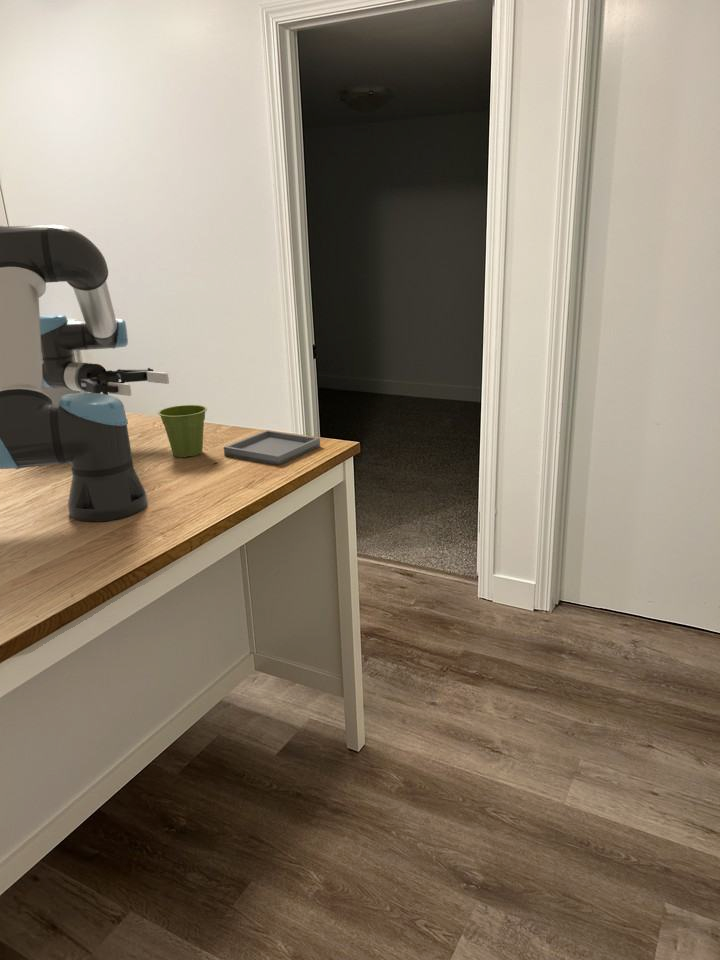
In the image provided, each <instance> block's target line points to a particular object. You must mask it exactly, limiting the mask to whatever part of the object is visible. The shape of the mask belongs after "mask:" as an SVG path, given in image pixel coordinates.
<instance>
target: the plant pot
mask: <svg viewBox="0 0 720 960" xmlns="http://www.w3.org/2000/svg"><path fill="white" fill-rule="evenodd" d="M207 410H208V408H207V406H204V405H201V404H199V405H198V404H185V405H184V404H183V405H175V406H170V407H164V408H162V409H160V410H159V411H157V414H158V416H160V418H161V421H162V424H163V425H164V429H165V431H166V435H167V439H168V442H169V445H170V449H171V453H172V454H173V456H174V457H176V458H177V457H178V458H186V457H197V456H198V455H200V454H202V453H203V449H204V448H203V447H204V446H203V445H204V426H205V425H204V424H205V423H204V422H205V420H206V419H205V418H206V412H207Z"/></svg>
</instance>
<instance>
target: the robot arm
mask: <svg viewBox="0 0 720 960" xmlns="http://www.w3.org/2000/svg"><path fill="white" fill-rule="evenodd" d="M107 264H108V263H107V261H106V259H105V256H104V254H103V253H102V252H101V250H100V248H98V247H97V246H96V244H94V243H93V241H91V240H90V239H89V238H87V237H86V236H85V235H83V233H80V232H78V231H76V230H74V229H73V228H70V227H68V226H64V225H59V224H58V225H57V224H46V225H45V224H44V225H41V224H40V225H14V226H13V225H12V226H4V225H0V470H11V469H16V470H20V469H26V468H33V467H34V468H35V467H44V466H53V465H61V464H63V465H64V464H69V465H70V467H71V468H70V469H71V474H72V478H71V483H70V490H69V496H68V501H67V502H68V503H67V506H68V512H69V513H68V514H69V515H70V517H71V518H73V519H74V520H78V521H82V522H107V521H114V520H118V519H123V518H127V517H130V516H132V515H134V514H137V513H139V512H140V511H142V510H143V509H144V508H146V506H147V505H148V498H147V493H146V490H145V487H144V485H143V484H142V482H141V480H140V478H139V476H138V474H137V472H136V470H135V468H134V463H133V456H132V449H131V443H130V435H129V430H128V424H129V421H128V418H127V416H126V409H125V405H124V403H123V402H122V400H121V399H119V398H118V397H116V396H114V395H120V396H129V397H130V396H132V389H131V384H130V383H135V382H147V383H154V384H167V385H168V384H170V380H169V379H170V378H169V373H168V372H162V371H154V369H153V368H151V367H147V368H145V369H144V368H143V369H120V368H118V369H116V370H107V369H106V368H105V367H104V366H103V365H101V364H98V363H92V362H91V363H89V362H77V361H74V355H73V351H74V352H76V351H87V350H101V349H102V350H103V349H104V350H106V349H112V350H113V349H116V348H117V349H118V348H124V347H126V346H128V344H129V343H128V342H129V341H128V340H129V338H128V330H127V324H126V321H125V320H124V319H122V318H116V314H115V310H114V307H113V303H112V299H111V295H110V292H109V287H108V284H107V283H108V282H107V280H108V277H109V270H108V269H109V268H108V265H107ZM59 282H63V283H64V282H66V283H67V284H68V285H69V286H70V287H72V289H73V291H74V296H75V298H76V300H77V303H78V307H79V308H80V312H81V314H82V318H83V320H80V321H79V320H77V321H72V320H71V321H70V320H68V319H67V318H68V317H67V316H66V315H65V314H62V313H61V314H60V313H59V314H55V313H54V314H44V315H41V314H40V298H41V297H42V296H43V295H44V294H45V293H46V291H47V284H46V283H59ZM44 387H46V388H52V389H55V390H68V391H77V392H76V393H68V394H63V395H62V396H60V398H59V401H58V403H53V400H52V398H51V396H50V395H48V394H47V393H46V392H44ZM110 394H111V395H110Z"/></svg>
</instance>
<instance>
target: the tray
mask: <svg viewBox="0 0 720 960" xmlns="http://www.w3.org/2000/svg"><path fill="white" fill-rule="evenodd" d="M320 447H321V438H320V437H315V436H308V435H302V434H295V433H289V432H283V431H276V430H275V431H274V430H268V429H267V430H264V431H261V432H258V433H257V434H254V435H250V436H249V437H246V438H243V439H241V440H239V441H236V442H233V443H231V444H228V445H225V446H224V447H223V452H224V456H225V455H226V456H225V457H230V458H235V457H236V459H242V460H248V461H253V462H258V463H263V464H269V465H274V466H281V465H283V464H285V463H287V461H288V462H290V461H292V460H294V459H296V458H299V457H301V456H303V455H305V454H307V453H309V452H311V451H314V450H316V449H318V448H320ZM304 453H305V454H304ZM302 454H303V455H302ZM300 455H301V456H300ZM295 457H296V458H295ZM293 458H294V459H293ZM291 459H292V460H291ZM289 460H290V461H289Z"/></svg>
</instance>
